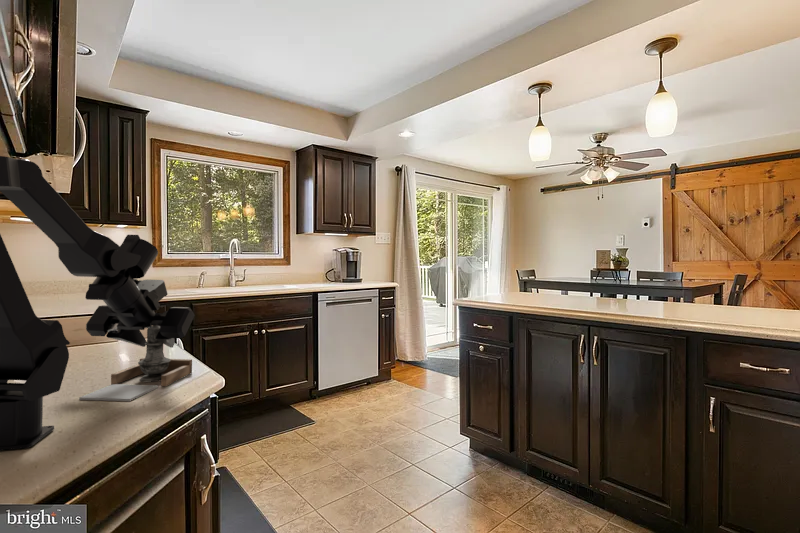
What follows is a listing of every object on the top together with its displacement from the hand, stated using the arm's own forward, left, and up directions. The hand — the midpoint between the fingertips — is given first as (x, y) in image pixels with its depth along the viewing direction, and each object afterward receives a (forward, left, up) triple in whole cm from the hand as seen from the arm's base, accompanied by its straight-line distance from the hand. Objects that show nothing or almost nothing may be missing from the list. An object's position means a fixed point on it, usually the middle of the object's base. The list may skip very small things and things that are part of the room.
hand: (158, 345), depth 87 cm
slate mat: (-11, +4, -7) cm, 13 cm away
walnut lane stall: (-2, +1, -7) cm, 7 cm away
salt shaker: (-1, 0, -7) cm, 7 cm away
